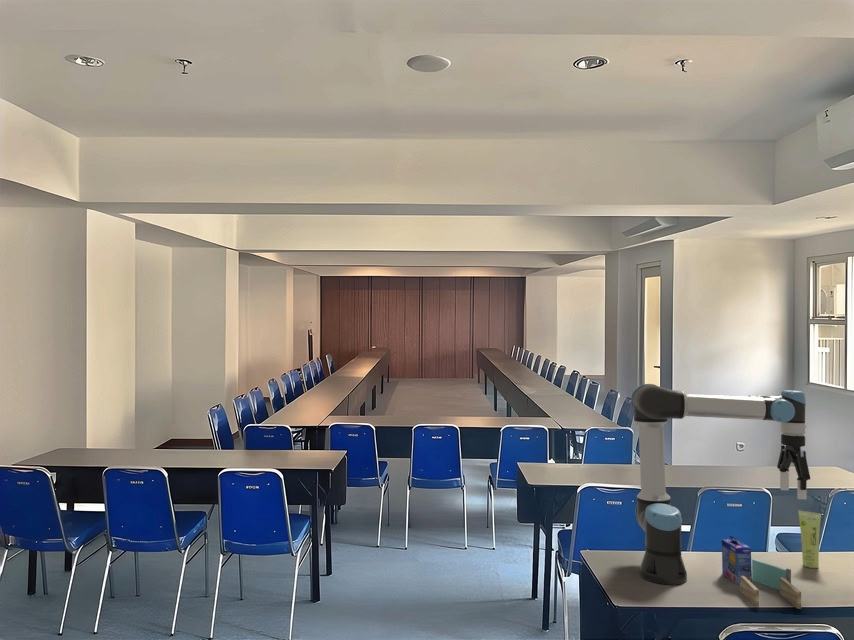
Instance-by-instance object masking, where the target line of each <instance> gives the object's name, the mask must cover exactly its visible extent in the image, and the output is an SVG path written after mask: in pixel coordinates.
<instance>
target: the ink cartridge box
mask: <svg viewBox="0 0 854 640" xmlns="http://www.w3.org/2000/svg"><path fill="white" fill-rule="evenodd" d="M728 536H729V538H724V539H723V538H722V539H721V563H722V565H721V567H722V569H721V571H722V575H723V576H725V577H726V578H728V579H729V580H730V581H732V582H733V583H735V585H740V576H745V577H746V578H747V579H748V580H749V581H750V582H751V583H752V584H753V580H752V548H751V546H749V545H748V544H745V543H743V542H741V541H740V540H738V539H736V538H735V537H734V536H732V535H730V534H729V535H728Z"/></svg>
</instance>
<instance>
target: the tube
mask: <svg viewBox="0 0 854 640" xmlns="http://www.w3.org/2000/svg"><path fill="white" fill-rule="evenodd" d="M797 514H798V519H799V520H798V521H799V528H800V539H801V553H802V555H801V557H802V558H801V559H802V566H804V567H805V568H810V569H818V568H819V567H820V565H819V561H820V559H819V557H820V556H819V554H820V552H819V551H820V547H819V546H820V531H821V530H820V529H821V522H822V521H821V520H822V513H818V512H812V511H806V510H805V511H804V510H799V509H798V510H797Z"/></svg>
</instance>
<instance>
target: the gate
mask: <svg viewBox="0 0 854 640" xmlns="http://www.w3.org/2000/svg"><path fill="white" fill-rule="evenodd" d="M751 566H752V582H756V583H758V584H762V585H764V586H767V587H770V588H772V589H776V590H778V591H780V578H785V579H786V580H787V581H788V582H790V583H791V584H792V569H791V568H783V567H780V566H777V565H774V564H770V563H767V562H766V561H765V562H764V561H761V560H758V559H756V558H751Z"/></svg>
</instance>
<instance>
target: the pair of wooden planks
mask: <svg viewBox="0 0 854 640" xmlns="http://www.w3.org/2000/svg"><path fill="white" fill-rule="evenodd" d="M739 585H740V588H739V589H740V590H739V591H740V593H741V594H742V595H743V596H744V597H745V598H746V599H747V600H748V601H749V602H750V603H751V604H752V605H753V604H754V605H755V606H754V605H753V606H754V607H758V606H759V607H760V589H759V588H758V587H756V586H755V584H753V582H752V583H751V582H750V581H749V580H748V579H747V578H746V577H745V576H740V584H739ZM779 593H780V595H781V596H782V597H783V598H784V599H786V600H787V602H789V601H790V602H791V603H792V604H791V603H790V602H789V603H790V604H791V605H792V606H794V605H795V606H794V607H795V608H796V609H797V610H798V609H799V610H801V609H802V591H801V590H799V589H798V588H797V587H795V585H793V583H792V582H791V583H790V582H788V581H787V580H786V579H785V578H780V590H779Z"/></svg>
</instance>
